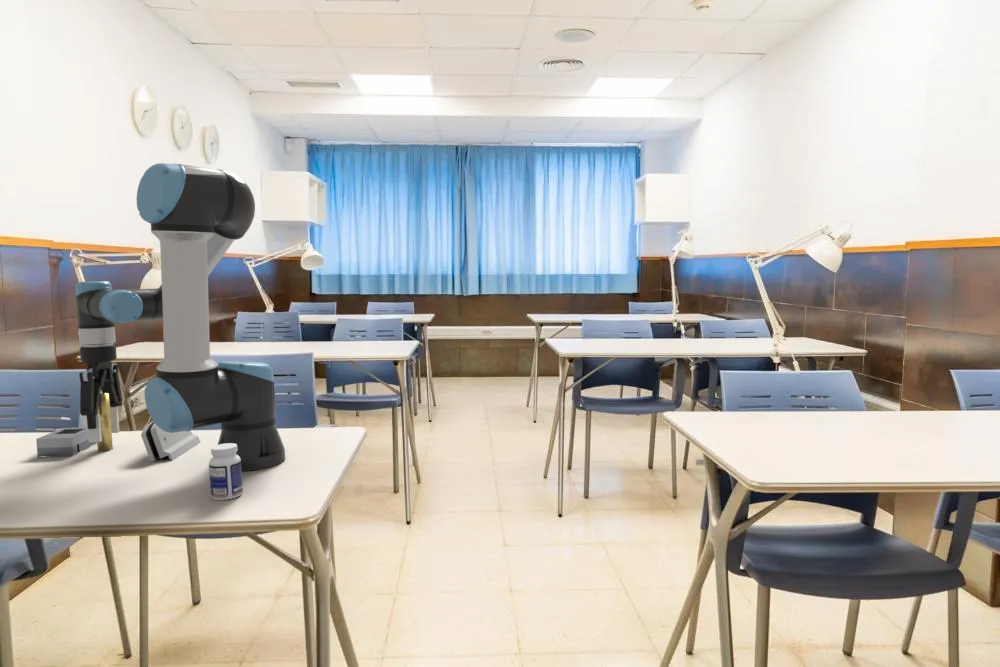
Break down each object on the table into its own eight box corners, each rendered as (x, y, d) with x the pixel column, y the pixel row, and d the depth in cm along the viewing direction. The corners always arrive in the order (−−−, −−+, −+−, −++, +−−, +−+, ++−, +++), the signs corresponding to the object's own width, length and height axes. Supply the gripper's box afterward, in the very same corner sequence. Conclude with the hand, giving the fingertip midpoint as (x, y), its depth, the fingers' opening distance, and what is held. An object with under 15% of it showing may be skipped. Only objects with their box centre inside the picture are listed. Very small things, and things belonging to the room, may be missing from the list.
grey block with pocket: (65, 444, 167) (64, 427, 167) (98, 443, 168) (97, 426, 167) (37, 457, 156) (36, 438, 155) (73, 455, 156) (71, 437, 156)
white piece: (172, 460, 152) (154, 421, 150) (152, 468, 151) (135, 428, 150) (201, 441, 168) (185, 406, 167) (183, 448, 168) (168, 412, 167)
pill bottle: (237, 489, 131) (234, 440, 130) (246, 496, 127) (244, 446, 126) (207, 495, 128) (204, 445, 127) (215, 503, 123) (213, 451, 122)
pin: (108, 451, 160) (104, 394, 159) (95, 451, 160) (91, 395, 158) (115, 447, 163) (111, 392, 162) (101, 448, 163) (97, 392, 162)
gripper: (103, 340, 169) (109, 427, 171) (56, 350, 148) (64, 448, 151) (133, 340, 170) (139, 426, 172) (91, 349, 149) (98, 447, 151)
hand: (104, 436), depth 161 cm, fingers open, 8 cm apart
